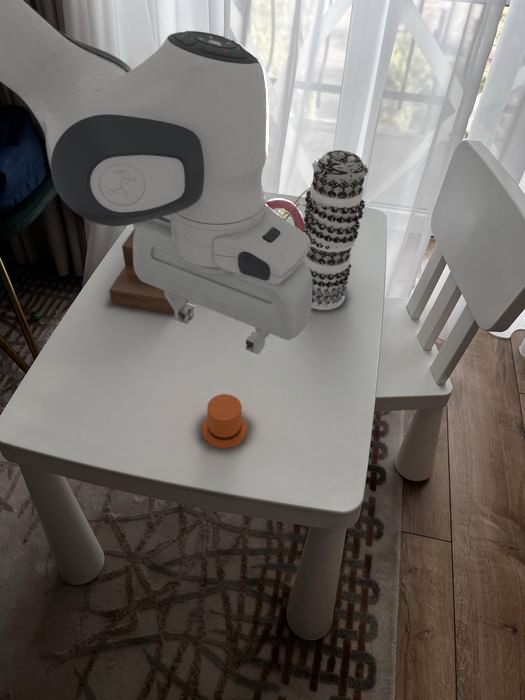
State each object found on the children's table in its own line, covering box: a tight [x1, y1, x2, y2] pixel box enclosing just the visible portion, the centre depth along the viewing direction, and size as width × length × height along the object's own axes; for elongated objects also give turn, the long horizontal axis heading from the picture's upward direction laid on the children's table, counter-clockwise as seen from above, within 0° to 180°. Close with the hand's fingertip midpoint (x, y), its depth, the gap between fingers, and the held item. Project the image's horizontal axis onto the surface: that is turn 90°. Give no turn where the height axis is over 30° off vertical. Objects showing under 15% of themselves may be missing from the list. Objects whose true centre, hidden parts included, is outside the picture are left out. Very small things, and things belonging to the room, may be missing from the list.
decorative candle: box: [303, 149, 369, 311], centre depth 85 cm, size 9×9×25 cm
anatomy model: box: [265, 186, 311, 232], centre depth 104 cm, size 10×14×15 cm
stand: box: [108, 229, 175, 315], centre depth 93 cm, size 21×11×11 cm, turn 169°
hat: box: [201, 393, 248, 449], centre depth 70 cm, size 6×6×5 cm
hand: (219, 333), depth 61 cm, fingers open, 8 cm apart
